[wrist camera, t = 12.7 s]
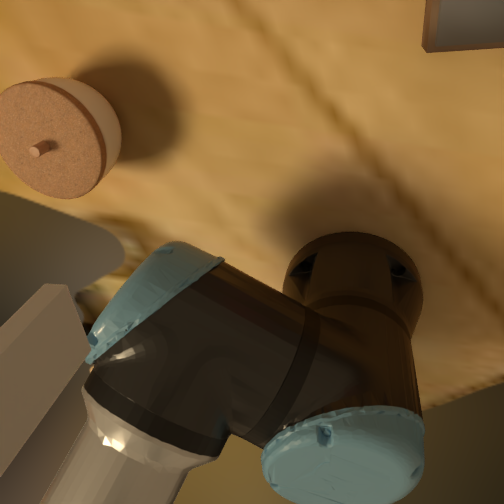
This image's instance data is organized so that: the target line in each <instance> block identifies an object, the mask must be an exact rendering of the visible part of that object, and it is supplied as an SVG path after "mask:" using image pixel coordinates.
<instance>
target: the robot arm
mask: <svg viewBox="0 0 504 504" xmlns="http://www.w3.org/2000/svg"><path fill="white" fill-rule="evenodd" d="M224 261H225V259H224V258H222V257H215V256H213V255H211V254H209V253H207V252H205V251H203V250H201V249H199V248H197V247H195V246H192V245H190V244H188V243H185V242H182V241H172V242H169V243H166V244H164V245H162V246H160V247H159V248H158V249H156V250H155V251H154V252H153V253H152V254H151V255H150V256H148V257H147V258H146V259H145V261H144V262H143V263H142V264H141V265H140V266H139V267H138V268H137V269H136V270H135V271H134V273H133V274H132V275H131V276H130V277H129V278H128V280H127V281H126V282H125V283H124V284H123V286H122V287H121V288H120V289H119V291H118V292H117V293H116V294H115V296H114V297H113V298H112V299H111V301H110V302H109V303H108V305H107V306H106V308H105V309H104V310H103V312H102V313H101V314H100V316H99V317H98V319H97V320H96V322H95V323H94V325H93V327H92V330H91V331H90V333H89V334H88V336H87V337H86V334H85V331H84V329H83V326H82V324H81V321H80V318H79V316H78V313H77V311H76V308H75V306H74V303H73V300H72V298H71V295H70V293H69V290H68V287H67V285H58V284H44V285H43V286H42V287H41V288H40V290H38V291H37V292H36V293H35V294H34V295H33V296H32V297H31V298H30V299H29V300H28V301H27V302H26V303H25V304H24V305H23V306H22V307H21V308H20V309H19V310H18V311H17V312H16V313H15V314H14V315H13V316H12V317H11V318H10V319H9V320H8V321H7V322H6V323H5V324H4V325H3V326H2V327H0V477H1V475H2V474H3V473H4V471H5V470H6V469H7V467H8V466H9V464H10V463H11V462H12V460H13V459H14V457H15V456H16V455H17V453H18V452H19V450H20V449H21V448H22V446H23V445H24V443H25V442H26V441H27V439H28V438H29V436H30V435H31V434H32V432H33V431H34V430H35V428H36V427H37V425H38V424H39V423H40V421H41V420H42V418H43V417H44V416H45V414H46V413H47V411H48V410H49V409H50V407H51V406H52V404H53V403H54V402H55V400H56V399H57V397H58V396H59V395H60V393H61V392H62V390H63V389H64V388H65V386H66V385H67V383H68V382H69V381H70V379H71V378H72V376H73V375H74V373H75V372H76V371H77V369H78V368H79V367H80V365H81V364H82V362H83V361H84V360H85V361H86V363H88V364H90V365H92V364H95V365H94V368H93V370H92V371H91V373H90V375H89V377H88V378H87V380H86V382H85V384H84V386H83V387H82V394H83V397H84V400H85V404H86V408H87V411H88V419H87V421H86V423H85V425H84V427H83V428H82V430H81V432H80V434H79V435H78V437H77V439H76V441H75V442H74V444H73V446H72V448H71V449H70V451H69V453H68V455H67V457H66V458H65V460H64V462H63V464H62V465H61V467H60V469H59V471H58V472H57V474H56V476H55V478H54V479H53V481H52V483H51V485H50V486H49V488H48V490H47V492H46V493H45V495H44V497H43V499H42V501H41V502H40V504H173V502H174V501H175V499H176V497H177V495H178V492H179V491H180V489H181V487H182V484H183V483H184V480H185V478H186V476H187V474H188V472H189V471H190V470H192V469H193V468H196V467H199V466H201V465H204V464H207V463H209V462H212V461H215V460H216V459H217V458H218V457H219V455H220V453H221V451H222V449H223V447H224V445H225V443H226V441H227V439H228V437H229V436H230V435H231V434H233V435H236V436H238V437H241V438H243V439H245V440H247V441H248V442H251V443H252V444H254V445H256V446H258V447H260V448H262V449H263V450H264V451H263V452H262V455H261V462H262V469H263V474H264V477H265V479H266V480H267V482H269V483H270V486H271V487H272V488H273V490H274V491H276V492H277V493H278V494H279V495H281V496H283V497H284V498H286V499H288V500H290V501H292V502H294V503H297V504H391V503H394V502H396V501H398V500H400V499H402V498H403V497H405V496H406V495H407V494H409V493H410V492H411V491H412V490H413V489H414V488H415V486H416V485H417V484H418V482H419V480H420V479H421V477H422V474H423V470H424V442H423V437H424V434H425V428H424V423H423V418H422V411H421V404H420V398H419V391H418V385H417V378H416V372H415V365H414V358H413V352H412V346H411V338H412V335H413V332H414V330H415V327H416V324H417V322H418V319H419V316H420V313H421V310H422V304H423V292H422V286H421V280H420V276H419V273H418V270H417V268H416V266H415V264H414V263H413V261H412V260H411V259H410V257H409V256H408V255H407V254H406V253H405V252H404V251H403V250H402V249H400V248H399V247H398V246H396V245H395V244H393V243H391V242H389V241H387V240H385V239H383V238H380V237H378V236H375V235H371V234H366V233H359V232H341V233H335V234H330V235H326V236H323V237H321V238H318V239H316V240H314V241H312V242H310V243H309V244H307V245H306V246H304V247H303V248H302V249H301V250H300V251H299V252H298V253H297V254H296V255H295V256H294V258H293V259H292V260H291V262H290V264H289V266H288V269H287V272H286V275H285V279H284V283H283V291H282V293H281V292H279V291H277V290H275V289H273V288H271V287H270V286H268V285H266V284H264V283H262V282H260V281H258V280H256V279H255V278H253V277H251V276H249V275H247V274H245V273H244V272H242V271H240V270H238V269H237V268H235V267H233V266H231V265H229V264H228V263H226V262H224Z"/></svg>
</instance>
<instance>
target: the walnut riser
mask: <svg viewBox="0 0 504 504" xmlns="http://www.w3.org/2000/svg"><path fill="white" fill-rule="evenodd" d="M422 47H423V49H424V50H425V51H426V53H433V52H448V51H463V50H478V49H493V48H504V2H503V1H502V0H426V7H425V17H424V26H423V36H422Z"/></svg>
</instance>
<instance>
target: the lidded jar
mask: <svg viewBox="0 0 504 504" xmlns="http://www.w3.org/2000/svg"><path fill="white" fill-rule="evenodd" d="M121 144H122V134H121V127H120V123H119V120H118V117H117V115H116V113H115V111H114V109H113V108H112V106H111V105H110V103H109V102H108V101H107V100H106V99H105V98H104V97H103V96H102V95H101V94H100V93H99V92H98V91H97V90H95V89H94V88H92V87H91V86H89V85H87V84H85V83H83V82H80V81H77V80H74V79H70V78H63V77H50V78H41V79H37V80H33V81H26V82H22V83H19V84H15V85H13V86H11V87H9V88H7V89H6V90H5V91H4V92H2V93H1V94H0V154H1V156H2V158H3V159H4V161H5V162H6V164H7V165H8V166H9V168H10V169H11V170H12V171H13V172H14V174H15V175H16V176H17V177H18V178H20V179H21V180H22V181H23V182H24V183H25V184H27V185H28V186H29V187H31V188H33V189H34V190H36V191H38V192H40V193H42V194H44V195H47V196H50V197H54V198H60V199H73V198H78V197H81V196H83V195H85V194H87V193H88V192H90V191H91V190H92V189H93V188H94V187H95V186H96V185H97V184H98V183H99V182H100V181H101V180H102V179H103V178H104V177H105V176H106V175H107V174H108V173H109V172H110V170H111V169H112V167H113V166H114V164H115V163H116V161H117V159H118V156H119V154H120V149H121Z"/></svg>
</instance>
